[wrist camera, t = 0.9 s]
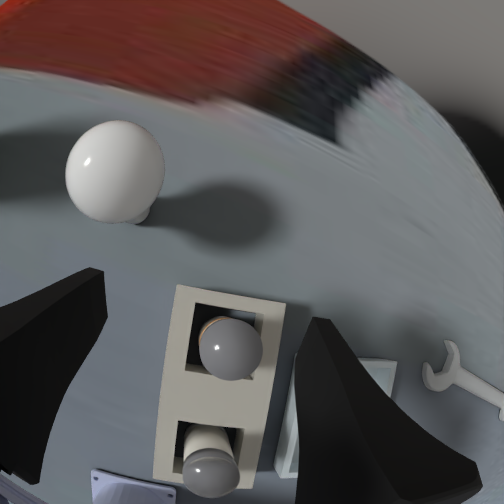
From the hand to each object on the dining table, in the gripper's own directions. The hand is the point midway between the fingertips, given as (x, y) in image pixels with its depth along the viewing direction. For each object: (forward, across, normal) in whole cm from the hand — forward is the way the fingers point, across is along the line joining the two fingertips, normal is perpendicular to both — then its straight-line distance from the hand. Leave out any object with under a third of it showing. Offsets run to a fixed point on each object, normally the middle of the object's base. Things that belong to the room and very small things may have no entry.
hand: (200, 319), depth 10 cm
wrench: (+12, -36, +16) cm, 41 cm away
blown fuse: (+10, -1, +10) cm, 15 cm away
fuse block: (+7, -1, +14) cm, 16 cm away
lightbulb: (+15, +9, +3) cm, 18 cm away
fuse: (+5, -1, +17) cm, 18 cm away
